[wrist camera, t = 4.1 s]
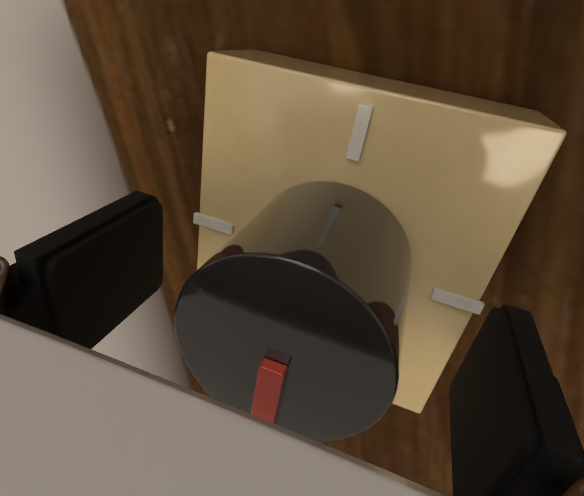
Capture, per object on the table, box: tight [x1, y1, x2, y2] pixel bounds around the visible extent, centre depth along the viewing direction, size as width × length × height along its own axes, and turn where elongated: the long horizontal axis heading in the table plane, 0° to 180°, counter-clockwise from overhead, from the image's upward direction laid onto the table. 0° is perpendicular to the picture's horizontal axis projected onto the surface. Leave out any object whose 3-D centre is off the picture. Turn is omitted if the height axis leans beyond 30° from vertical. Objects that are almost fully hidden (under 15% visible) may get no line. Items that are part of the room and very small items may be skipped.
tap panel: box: [193, 49, 566, 413], centre depth 13 cm, size 10×9×3 cm
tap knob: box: [174, 181, 412, 442], centre depth 10 cm, size 5×5×5 cm
